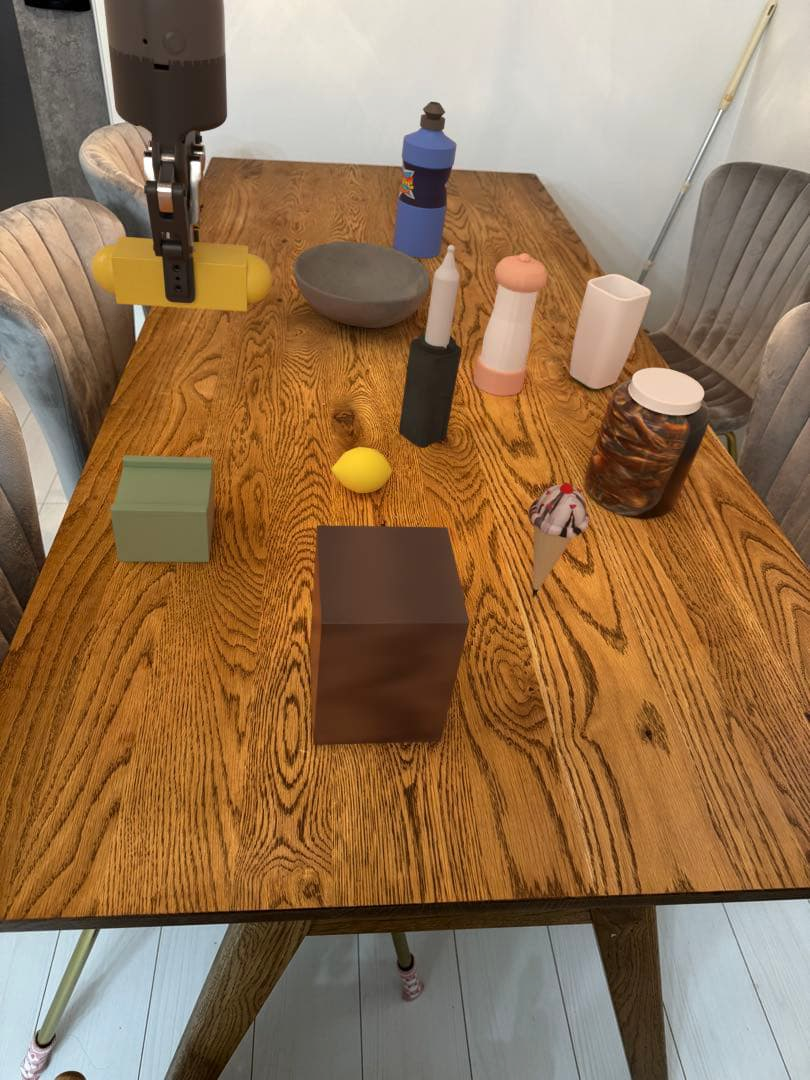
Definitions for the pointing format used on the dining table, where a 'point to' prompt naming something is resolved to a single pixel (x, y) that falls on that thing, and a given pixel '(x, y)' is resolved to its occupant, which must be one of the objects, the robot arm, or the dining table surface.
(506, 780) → the dining table surface
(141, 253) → the yellow ball-topped peg
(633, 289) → the cup
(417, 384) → the candle
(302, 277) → the bowl
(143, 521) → the block
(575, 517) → the ice cream cone
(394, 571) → the block
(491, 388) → the salt shaker
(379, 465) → the lemon
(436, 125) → the water bottle
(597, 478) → the jar
